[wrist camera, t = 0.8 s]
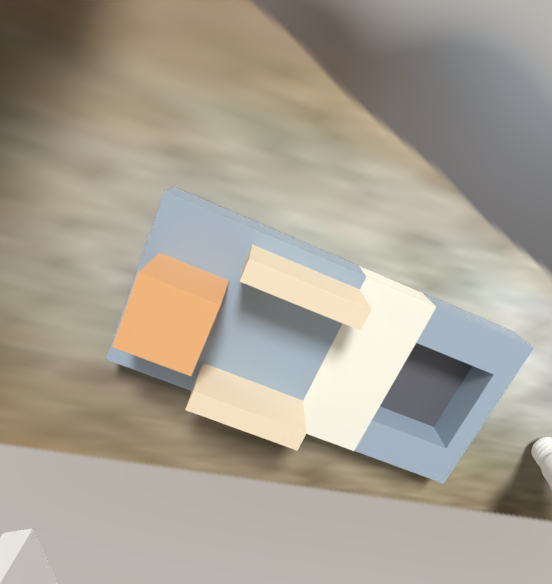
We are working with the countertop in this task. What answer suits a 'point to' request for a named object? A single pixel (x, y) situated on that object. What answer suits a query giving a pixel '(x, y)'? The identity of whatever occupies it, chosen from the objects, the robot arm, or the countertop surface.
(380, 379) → the pad
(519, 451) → the countertop surface
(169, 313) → the block
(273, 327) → the tunnel deck
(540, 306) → the countertop surface
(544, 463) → the lightbulb
